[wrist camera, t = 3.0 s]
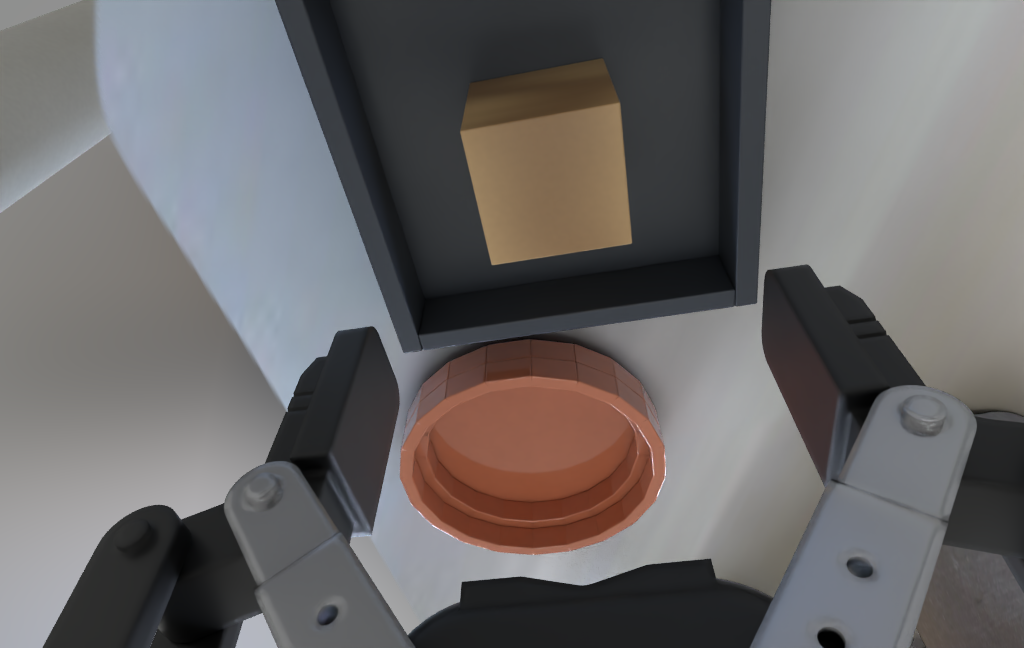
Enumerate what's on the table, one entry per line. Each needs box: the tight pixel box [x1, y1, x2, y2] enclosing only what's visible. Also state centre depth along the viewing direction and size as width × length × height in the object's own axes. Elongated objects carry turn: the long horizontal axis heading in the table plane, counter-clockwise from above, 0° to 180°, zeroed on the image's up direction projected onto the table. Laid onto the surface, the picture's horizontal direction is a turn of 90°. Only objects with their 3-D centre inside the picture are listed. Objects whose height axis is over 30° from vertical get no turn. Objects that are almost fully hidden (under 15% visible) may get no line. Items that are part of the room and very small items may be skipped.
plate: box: [400, 339, 666, 555], centre depth 31 cm, size 12×12×3 cm
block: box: [460, 58, 632, 265], centre depth 21 cm, size 4×4×4 cm
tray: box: [275, 0, 771, 353], centre depth 22 cm, size 14×14×3 cm
